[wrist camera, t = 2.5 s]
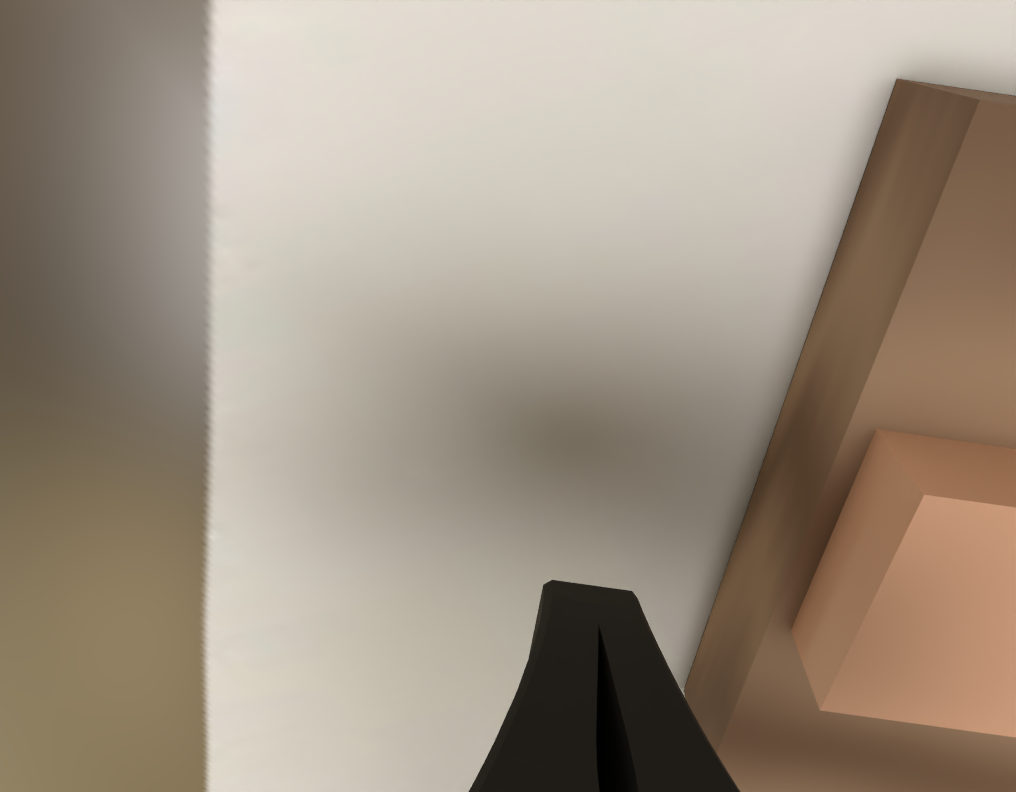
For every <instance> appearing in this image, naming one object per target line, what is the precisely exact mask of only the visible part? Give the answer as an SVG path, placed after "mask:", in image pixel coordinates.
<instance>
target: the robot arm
mask: <svg viewBox="0 0 1016 792" xmlns="http://www.w3.org/2000/svg"><path fill="white" fill-rule="evenodd" d="M469 792H740V790H739V789H738V787H737V786H736V784H735V783H734V781H733V779H732V778H731V776H730V775H729V773H728V771H727V770H726V768H725V766H724V765H723V763H722V762H721V760H720V758H719V757H718V755H717V753H716V752H715V750H714V749H713V747H712V745H711V744H710V742H709V740H708V738H707V737H706V735H705V733H704V732H703V730H702V728H701V726H700V725H699V723H698V721H697V719H696V717H695V716H694V714H693V712H692V710H691V708H690V706H689V704H688V703H687V701H686V699H685V697H684V695H683V693H682V692H681V690H680V688H679V686H678V684H677V682H676V680H675V678H674V676H673V674H672V673H671V671H670V669H669V667H668V665H667V663H666V660H665V658H664V656H663V654H662V652H661V650H660V648H659V646H658V644H657V642H656V640H655V637H654V635H653V633H652V631H651V629H650V627H649V624H648V622H647V620H646V617H645V615H644V613H643V611H642V608H641V606H640V603H639V601H638V598H637V597H636V596H635V594H634V593H633V592H632V591H628V590H621V589H613V588H606V587H599V586H592V585H584V584H577V583H570V582H563V581H556V580H551V581H549V582H548V583H546V584H544V585H543V590H542V595H541V600H540V605H539V610H538V615H537V620H536V625H535V630H534V635H533V640H532V645H531V650H530V655H529V659H528V662H527V665H526V668H525V670H524V673H523V676H522V679H521V682H520V684H519V687H518V690H517V692H516V695H515V697H514V699H513V702H512V704H511V706H510V708H509V711H508V713H507V715H506V717H505V720H504V722H503V724H502V726H501V729H500V731H499V733H498V735H497V737H496V740H495V742H494V744H493V746H492V748H491V750H490V752H489V754H488V756H487V758H486V760H485V762H484V764H483V766H482V768H481V770H480V772H479V774H478V775H477V777H476V779H475V781H474V783H473V785H472V787H471V788H470V790H469Z"/></svg>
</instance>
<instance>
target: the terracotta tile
mask: <svg viewBox="0 0 1016 792" xmlns="http://www.w3.org/2000/svg"><path fill="white" fill-rule="evenodd" d="M791 632H792V635H793V638H794V641H795V643H796V646H797V649H798V652H799V654H800V657H801V660H802V663H803V665H804V668H805V671H806V674H807V676H808V679H809V682H810V685H811V687H812V690H813V693H814V696H815V698H816V701H817V704H818V707H819V709H820V710H821V711H828V712H835V713H842V714H850V715H857V716H864V717H871V718H879V719H886V720H893V721H900V722H907V723H915V724H922V725H929V726H936V727H944V728H951V729H958V730H965V731H972V732H980V733H987V734H994V735H1001V736H1008V737H1016V449H1014V448H1007V447H1000V446H993V445H986V444H979V443H972V442H965V441H958V440H951V439H944V438H936V437H929V436H922V435H915V434H908V433H901V432H894V431H887V430H880V429H876V431H875V433H874V436H873V438H872V441H871V443H870V445H869V448H868V450H867V452H866V455H865V457H864V459H863V462H862V464H861V466H860V469H859V471H858V473H857V476H856V478H855V481H854V483H853V485H852V488H851V490H850V492H849V495H848V497H847V499H846V502H845V504H844V506H843V509H842V511H841V514H840V516H839V518H838V521H837V523H836V525H835V528H834V530H833V532H832V535H831V537H830V539H829V542H828V544H827V546H826V549H825V551H824V554H823V556H822V558H821V561H820V563H819V565H818V568H817V570H816V572H815V575H814V577H813V579H812V582H811V584H810V587H809V589H808V591H807V594H806V596H805V598H804V601H803V603H802V605H801V608H800V610H799V612H798V615H797V617H796V619H795V622H794V624H793V627H792V629H791Z"/></svg>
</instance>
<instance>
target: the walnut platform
mask: <svg viewBox="0 0 1016 792" xmlns="http://www.w3.org/2000/svg"><path fill="white" fill-rule="evenodd" d="M876 429H880V430H887V431H894V432H901V433H908V434H915V435H922V436H929V437H936V438H944V439H951V440H958V441H965V442H972V443H979V444H986V445H993V446H1000V447H1007V448H1014V449H1016V96H1012V95H1005V94H998V93H991V92H984V91H977V90H971V89H964V88H957V87H950V86H943V85H936V84H929V83H923V82H916V81H909V80H902V79H897V81H896V84H895V87H894V90H893V93H892V95H891V98H890V101H889V104H888V107H887V110H886V113H885V116H884V118H883V121H882V124H881V127H880V130H879V133H878V136H877V138H876V141H875V144H874V147H873V150H872V153H871V156H870V158H869V161H868V164H867V167H866V170H865V173H864V176H863V179H862V181H861V184H860V187H859V190H858V193H857V196H856V199H855V201H854V204H853V207H852V210H851V213H850V216H849V219H848V222H847V224H846V227H845V230H844V233H843V236H842V239H841V242H840V244H839V247H838V250H837V253H836V256H835V259H834V262H833V264H832V267H831V270H830V273H829V276H828V279H827V282H826V285H825V287H824V290H823V293H822V296H821V299H820V302H819V305H818V307H817V310H816V313H815V316H814V319H813V322H812V325H811V328H810V330H809V333H808V336H807V339H806V342H805V345H804V348H803V350H802V353H801V356H800V359H799V362H798V365H797V368H796V371H795V373H794V376H793V379H792V382H791V385H790V388H789V391H788V393H787V396H786V399H785V402H784V405H783V408H782V411H781V413H780V416H779V419H778V422H777V425H776V428H775V431H774V434H773V436H772V439H771V442H770V445H769V448H768V451H767V454H766V456H765V459H764V462H763V465H762V468H761V471H760V474H759V477H758V479H757V482H756V485H755V488H754V491H753V494H752V497H751V499H750V502H749V505H748V508H747V511H746V514H745V517H744V519H743V522H742V525H741V528H740V531H739V534H738V537H737V540H736V542H735V545H734V548H733V551H732V554H731V557H730V560H729V562H728V565H727V568H726V571H725V574H724V577H723V580H722V583H721V585H720V588H719V591H718V594H717V597H716V600H715V603H714V605H713V608H712V611H711V614H710V617H709V620H708V623H707V626H706V628H705V631H704V634H703V637H702V640H701V643H700V646H699V648H698V651H697V654H696V657H695V660H694V663H693V666H692V668H691V671H690V674H689V677H688V680H687V683H686V686H685V689H684V692H685V697H686V701H687V703H688V704H689V706H690V708H691V710H692V712H693V714H694V716H695V717H696V719H697V721H698V723H699V725H700V726H701V728H702V730H703V732H704V733H705V735H706V737H707V738H708V740H709V742H710V744H711V745H712V747H713V749H714V750H715V752H716V753H717V755H718V757H719V758H720V760H721V762H722V763H723V765H724V766H725V768H726V770H727V771H728V773H729V775H730V776H731V778H732V779H733V781H734V783H735V784H736V786H737V787H738V789H739V790H740V792H1016V737H1008V736H1001V735H994V734H987V733H980V732H972V731H965V730H958V729H951V728H944V727H936V726H929V725H922V724H915V723H907V722H900V721H893V720H886V719H879V718H871V717H864V716H857V715H850V714H842V713H835V712H828V711H821V710H820V709H819V707H818V704H817V701H816V698H815V696H814V693H813V690H812V687H811V685H810V682H809V679H808V676H807V674H806V671H805V668H804V665H803V663H802V660H801V657H800V654H799V652H798V649H797V646H796V643H795V641H794V638H793V635H792V632H791V629H792V627H793V624H794V622H795V619H796V617H797V615H798V612H799V610H800V608H801V605H802V603H803V601H804V598H805V596H806V594H807V591H808V589H809V587H810V584H811V582H812V579H813V577H814V575H815V572H816V570H817V568H818V565H819V563H820V561H821V558H822V556H823V554H824V551H825V549H826V546H827V544H828V542H829V539H830V537H831V535H832V532H833V530H834V528H835V525H836V523H837V521H838V518H839V516H840V514H841V511H842V509H843V506H844V504H845V502H846V499H847V497H848V495H849V492H850V490H851V488H852V485H853V483H854V481H855V478H856V476H857V473H858V471H859V469H860V466H861V464H862V462H863V459H864V457H865V455H866V452H867V450H868V448H869V445H870V443H871V441H872V438H873V436H874V433H875V431H876Z"/></svg>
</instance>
